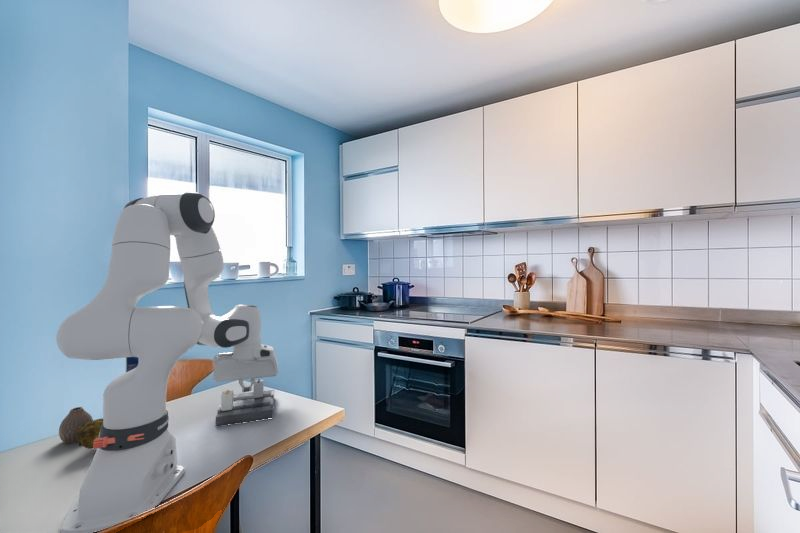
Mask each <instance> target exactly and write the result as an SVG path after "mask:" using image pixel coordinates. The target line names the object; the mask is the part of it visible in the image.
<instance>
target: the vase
mask: <svg viewBox="0 0 800 533" xmlns="http://www.w3.org/2000/svg"><path fill="white" fill-rule="evenodd" d="M93 420H94V418H93V417H92V415H91V414H90V413H89V412H88V411H86V410H85V409H84V408H83V406H78V407H77V406H76V407H73V408H71V409H70V411H69V413H68V414H66V416H65V417H64V418H63V420H62V421H61V423H60V425H59V428H58V436H59V439H60V440H61V442H63V443H65V444H68V445H69V444H70V445H71V444H77V443H79V442H78V439H77V432H78V430H79V429H80V427H81V426H83V425H84V424H86V423H88V422H90V421H93Z"/></svg>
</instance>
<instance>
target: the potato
mask: <svg viewBox="0 0 800 533" xmlns="http://www.w3.org/2000/svg"><path fill="white" fill-rule="evenodd" d="M102 424H103V418H97V419H93V421H90V422H88V423H86V424H84V425H83V426H81V427H80V429H79V430H78V432H77V439H78V443H79V444H78V446H80V447H84V448H86V449H91V450H92V449H94V448H93V443H94V440H95V439H96V438H99V432H100V430H101V426H102Z"/></svg>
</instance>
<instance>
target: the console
mask: <svg viewBox="0 0 800 533" xmlns="http://www.w3.org/2000/svg"><path fill="white" fill-rule="evenodd" d="M274 402H275V389H271V390H270V389H269V390H264V394H263V397H259V398H254V391H250V392H242V393H235V394H234V393H233V408H232V410H226V411H221V404H220V405H219V406H218V408H217V413H216V415H215V427H216V426H219V427H222V426H221V425H226V426H229V425H228V424H233V425H236V424H235V423H241V424H244V423H243V422H248V423H251V422H250V421H255V422H257V421H256V420H262V419H268V418H273V419H274V416H273V415H274V406H273V405H274V404H275V403H274ZM262 421H263V420H262Z"/></svg>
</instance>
